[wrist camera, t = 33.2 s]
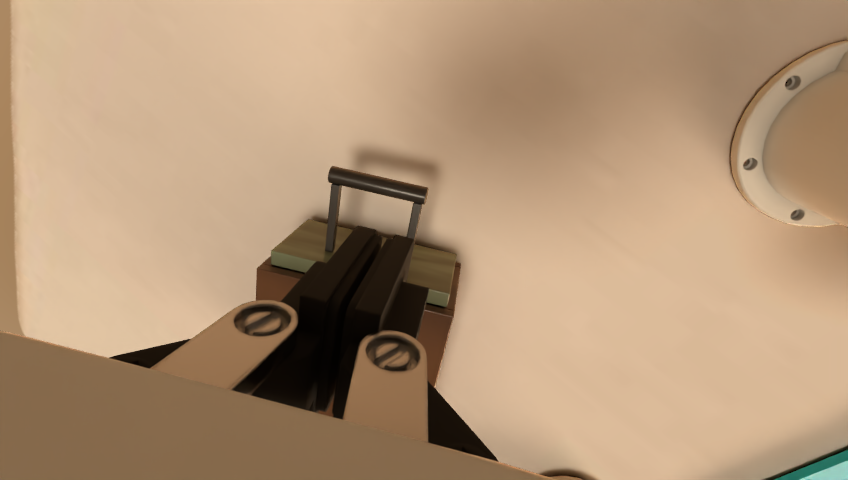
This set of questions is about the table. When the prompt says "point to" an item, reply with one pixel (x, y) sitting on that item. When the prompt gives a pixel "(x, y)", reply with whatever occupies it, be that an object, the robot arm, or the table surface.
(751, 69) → the table surface
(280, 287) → the cabinet
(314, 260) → the drawer
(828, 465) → the diskette
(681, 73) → the table surface
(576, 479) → the donut
